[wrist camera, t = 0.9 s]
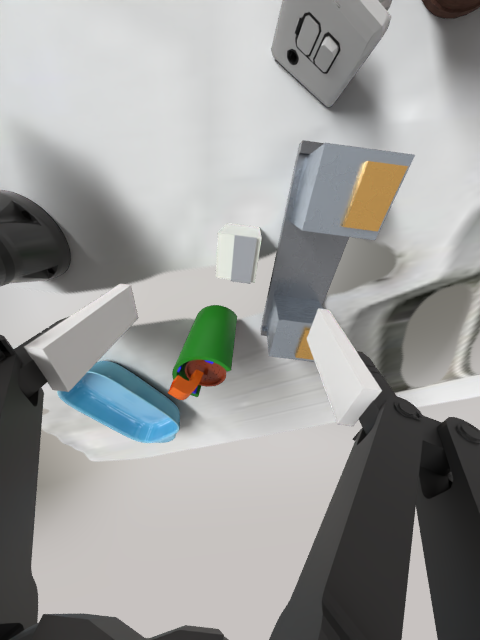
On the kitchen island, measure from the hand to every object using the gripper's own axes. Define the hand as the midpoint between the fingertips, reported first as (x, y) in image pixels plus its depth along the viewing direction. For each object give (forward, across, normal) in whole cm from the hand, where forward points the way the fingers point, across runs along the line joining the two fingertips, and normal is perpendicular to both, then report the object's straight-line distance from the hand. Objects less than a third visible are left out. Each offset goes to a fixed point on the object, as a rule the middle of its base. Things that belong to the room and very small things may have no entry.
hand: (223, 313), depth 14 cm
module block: (+24, 0, 0) cm, 24 cm away
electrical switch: (+25, +6, +22) cm, 33 cm away
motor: (+25, -4, -18) cm, 31 cm away
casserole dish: (+25, -29, -49) cm, 62 cm away
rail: (+24, +12, -2) cm, 27 cm away
